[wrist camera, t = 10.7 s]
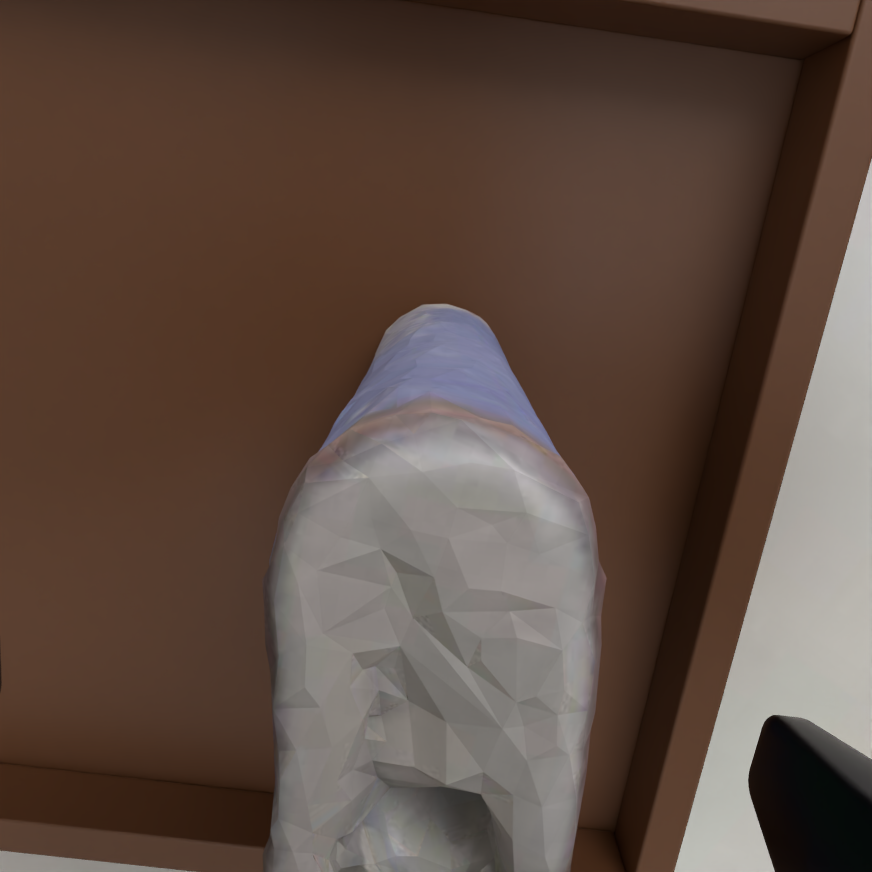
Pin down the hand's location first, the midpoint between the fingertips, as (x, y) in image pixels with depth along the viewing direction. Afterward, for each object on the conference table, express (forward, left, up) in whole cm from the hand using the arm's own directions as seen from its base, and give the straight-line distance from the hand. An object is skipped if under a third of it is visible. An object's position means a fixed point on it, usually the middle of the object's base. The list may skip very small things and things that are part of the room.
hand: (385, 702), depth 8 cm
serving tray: (+5, -1, -7) cm, 9 cm away
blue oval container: (0, 0, -6) cm, 6 cm away
